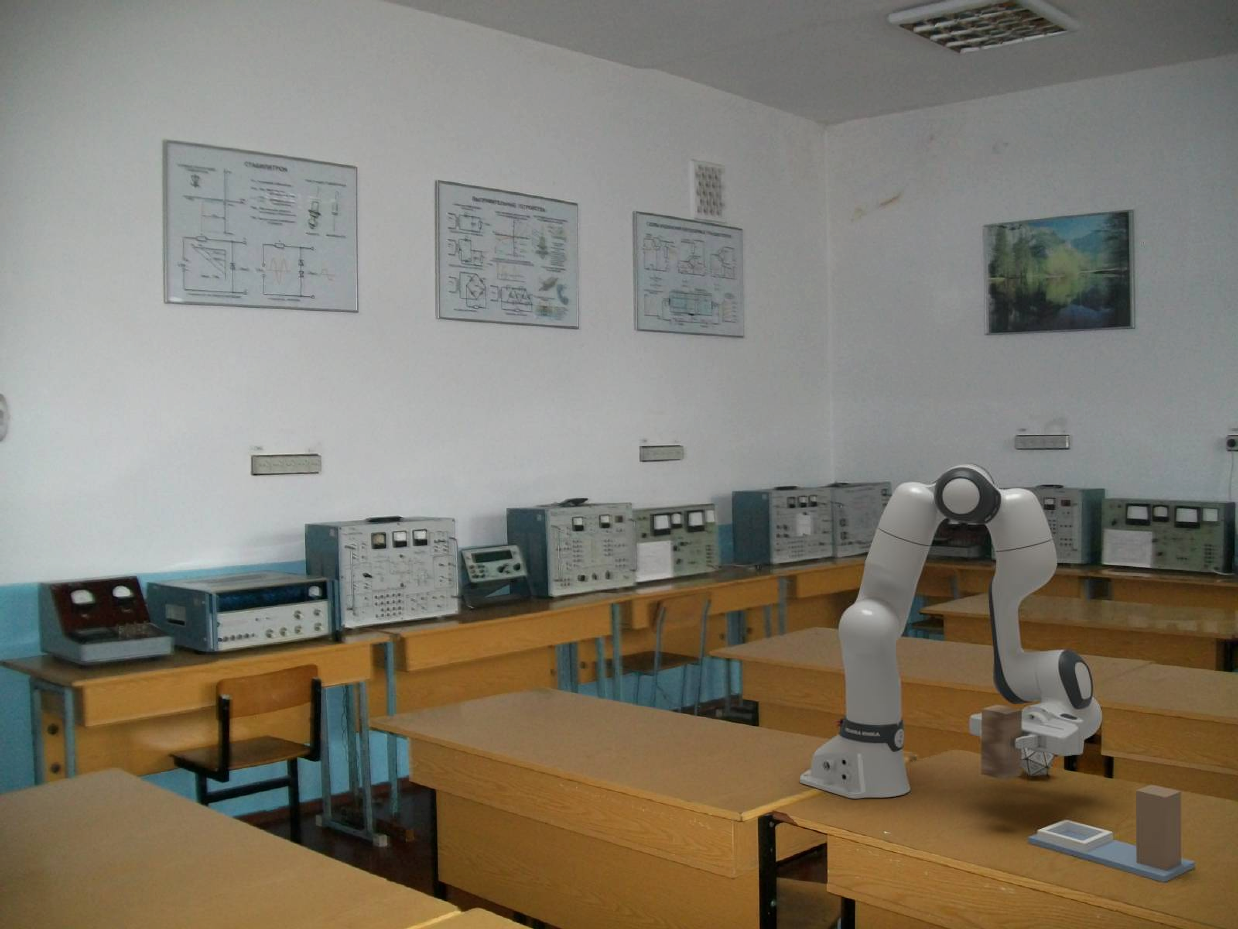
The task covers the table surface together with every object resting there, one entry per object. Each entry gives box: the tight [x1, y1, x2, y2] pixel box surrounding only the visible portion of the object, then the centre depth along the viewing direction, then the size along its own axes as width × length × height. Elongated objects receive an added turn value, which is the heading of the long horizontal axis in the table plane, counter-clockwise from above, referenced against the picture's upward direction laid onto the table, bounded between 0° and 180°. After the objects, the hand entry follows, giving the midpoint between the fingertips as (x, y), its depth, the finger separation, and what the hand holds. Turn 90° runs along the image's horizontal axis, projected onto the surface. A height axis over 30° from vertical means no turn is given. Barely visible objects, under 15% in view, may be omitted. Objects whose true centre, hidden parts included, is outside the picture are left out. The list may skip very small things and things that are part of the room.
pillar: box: [980, 704, 1023, 781], centre depth 217 cm, size 5×5×12 cm
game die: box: [1021, 748, 1060, 781], centre depth 250 cm, size 9×8×10 cm
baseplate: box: [1027, 784, 1196, 883], centre depth 204 cm, size 24×10×13 cm, turn 38°
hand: (998, 739), depth 216 cm, fingers closed on pillar, 5 cm apart
